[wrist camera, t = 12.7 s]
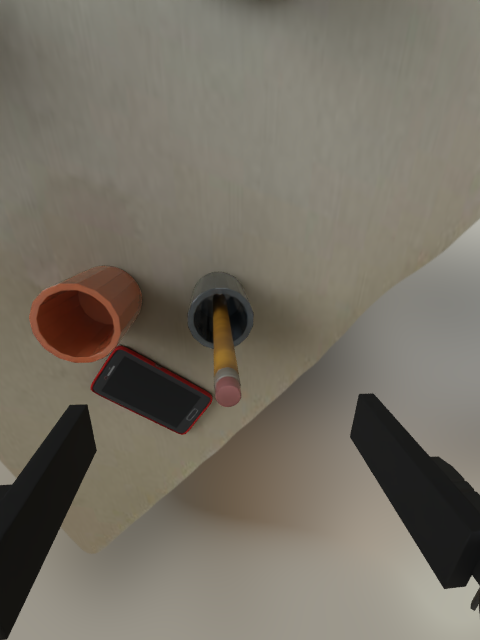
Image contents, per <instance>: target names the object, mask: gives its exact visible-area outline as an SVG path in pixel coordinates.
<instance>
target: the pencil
mask: <svg viewBox="0 0 480 640" xmlns="http://www.w3.org/2000/svg"><path fill="white" fill-rule="evenodd" d="M213 342H214V388H215V393H216V400H217V402H218V403H219V404H220V405H222V406H224V407H231V406H234V405H236V404H237V403H238V402H239V401H240V399H241V390H240V386H241V384H240V378H239V372H238V367H237V361H236V355H235V349H234V343H233V338H232V332H231V326H230V320H229V314H228V309H227V303H226V298H225V296H224V295H223V294H215V295H214V297H213Z"/></svg>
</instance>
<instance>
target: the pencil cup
mask: <svg viewBox="0 0 480 640" xmlns="http://www.w3.org/2000/svg"><path fill="white" fill-rule="evenodd" d="M141 307H142V293H141V290H140V288H139V286H138V284H137V282H136V281H135V280H134V279H133V278H132V277H131V276H130V275H129V274H128V273H126V272H125V271H123V270H121V269H119V268H116V267H112V266H97V267H93V268H91V269H89V270H86V271H84V272H82V273H79V274H77V275H75V276H73V277H71V278H69V279H66V280H64V281H62V282H60V283H58V284H55V285H53V286H51V287H49V288H47V289H45V290H43V291H42V292H41V293H40V294H39V295H38V297H37V298H36V299H35V300H34V301H33V303H32V307H31V311H30V316H29V319H30V323H31V327H32V331H33V333H34V336H35V337H36V338H37V340H38V341H39V342H40V344H41V345H42V346H43V347H44V348H45V349H46V350H48V351H49V352H51V353H52V354H53V355H55V356H56V357H58V358H61V359H64V360H67V361H71V362H74V363H86V362H94V361H96V360H99V359H101V358H104V357H106V356H107V355H108V354H109V353H110V352H111V351H112V350H113V349H114V348H115V347H116V346H117V345H118V343H119V342H120V340H121V339H122V338H123V336H124V335H125V333H126V332H127V331H128V329H129V328H130V326H131V325H132V324H133V322H134V321H135V319H136V318H137V316H138V314H139V312H140V310H141Z"/></svg>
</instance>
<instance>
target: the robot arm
mask: <svg viewBox="0 0 480 640" xmlns="http://www.w3.org/2000/svg"><path fill="white" fill-rule="evenodd" d="M350 438H351V439H352V441H353V442H354V444H355V446H356V447H357V449H358V450H359V452H360V454H361V455H362V457H363V458H364V460H365V462H366V463H367V465H368V467H369V468H370V470H371V472H372V473H373V475H374V476H375V478H376V479H377V481H378V483H379V484H380V486H381V488H382V489H383V491H384V493H385V494H386V496H387V497H388V499H389V501H390V502H391V504H392V505H393V507H394V509H395V510H396V512H397V513H398V515H399V517H400V518H401V520H402V522H403V523H404V525H405V526H406V528H407V530H408V531H409V533H410V535H411V536H412V538H413V539H414V541H415V543H416V544H417V546H418V547H419V549H420V550H421V552H422V554H423V556H424V557H425V559H426V560H427V562H428V563H429V565H430V567H431V568H432V570H433V572H434V573H435V575H436V576H437V578H438V580H439V581H440V583H441V585H442V586H443V588H444V589H448V588H456V587H465V586H466V585H467V583H468V581H469V579H470V577H471V576H472V575H473V577H474V578H475V580H476V581H477V582H478V584H479V585H480V495H479V494H478V493H477V492H475V491H474V489H473V488H472V487H471V485H470V484H469V483H468V482H467V481H464V478H463V477H462V476H461V475H460V474H459V473H458V472H457V471H456V470H455V469H454V468H453V467H452V466H451V465H450V464H448V463H447V462H445V461H444V460H442V459H441V458H440V457H430V456H429V455H428V454H427V453H426V452H425V451H424V450H423V449H422V447H421V446H420V445H419V444H418V443H417V442H416V441H415V440H414V438H413V437H412V436H411V435H410V434H409V433H408V432H407V431H406V430H405V428H404V427H403V426H402V425H401V424H400V423H399V422H398V421H397V420H396V419H395V417H394V416H393V415H392V414H391V413H390V412H389V410H388V409H386V407H385V406H384V405H383V404H382V403H381V402H380V400H379V399H378V398H377V397H376V396H375V395H374V394H359V397H358V401H357V406H356V411H355V416H354V420H353V425H352V430H351V435H350ZM96 451H97V450H96V445H95V440H94V435H93V430H92V425H91V420H90V415H89V410H88V405H70V406H69V407H68V408H67V410H66V411H65V412H64V414H63V415H62V417H61V418H60V419H59V421H58V422H57V423H56V425H55V426H54V428H53V429H52V430H51V432H50V433H49V435H48V436H47V437H46V439H45V440H44V441H43V443H42V444H41V446H40V447H39V448H38V450H37V451H36V453H35V454H34V455H33V457H32V458H31V459H30V461H29V462H28V464H27V465H26V466H25V468H24V469H23V471H22V472H21V473H20V475H19V476H18V477H17V479H16V480H15V482H14V483H13V484H12V485H0V640H5V639H7V638H8V636H9V634H10V632H11V630H12V628H13V626H14V624H15V622H16V619H17V617H18V615H19V613H20V611H21V609H22V607H23V605H24V603H25V601H26V598H27V596H28V594H29V592H30V589H31V588H32V586H33V583H34V582H35V579H36V577H37V575H38V573H39V571H40V569H41V566H42V565H43V562H44V560H45V558H46V556H47V554H48V552H49V550H50V548H51V546H52V544H53V541H54V539H55V537H56V535H57V533H58V530H59V529H60V527H61V525H62V522H63V520H64V518H65V516H66V514H67V512H68V510H69V508H70V506H71V503H72V501H73V499H74V497H75V495H76V493H77V491H78V489H79V487H80V484H81V482H82V480H83V478H84V476H85V474H86V472H87V470H88V468H89V466H90V463H91V461H92V459H93V457H94V455H95V453H96ZM478 604H479V612H480V588H479V590H478V591H477V593H476V595H475V597H474V598H473V600H472V603H471V609H472V610H474V611H475V610H476V608H477V606H478Z"/></svg>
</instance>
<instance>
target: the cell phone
mask: <svg viewBox="0 0 480 640" xmlns="http://www.w3.org/2000/svg"><path fill="white" fill-rule="evenodd" d="M91 390H92V391H93V392H94V393H96V394H98V395H99V396H101V397H103V398H105V399H108V400H110V401H112V402H114V403H116V404H118V405H120V404H121V405H120V406H122V405H123V406H122V407H124V406H125V407H124V408H126V409H128V410H130V411H132V412H134V413H136V414H139V415H141V416H143V417H145V418H147V419H149V420H151V421H153V422H155V423H157V424H159V425H161V426H163V427H165V428H167V429H170V430H172V431H174V432H176V433H178V434H181V435H183V434H186V433H187V432H188V431H189V430H190V429H191V428H192V426H193V425H194V424H195V423H196V421H197V420H198V419H199V418H200V416H201V415H202V414H203V413H204V412H205V410H206V409H207V408H208V407H209V405H210V404H211V402H212V395H211V394H210V393H208V392H207V391H205V390H203V389H201V388H199V387H198V386H196V385H194V384H192V383H190V382H189V381H187V380H185V379H183V378H181V377H179V376H178V375H176V374H174V373H172V372H170V371H169V370H167V369H165V368H163V367H160V366H158V365H157V364H155V363H154V362H152V361H151V360H149V359H147V358H145V357H143V356H141V355H140V354H138V353H136V352H134V351H132V350H131V349H129V348H127V347H124V346H117V347H116V348H115V349H114V350H113V352H112V353H111V355H110V356H109V358H108V359H107V361H106V362H105V364H104V365H103V367H102V368H101V370H100V371H99V373H98V374H97V376H96V378H95V379H94V381H93V382H92V384H91Z"/></svg>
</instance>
